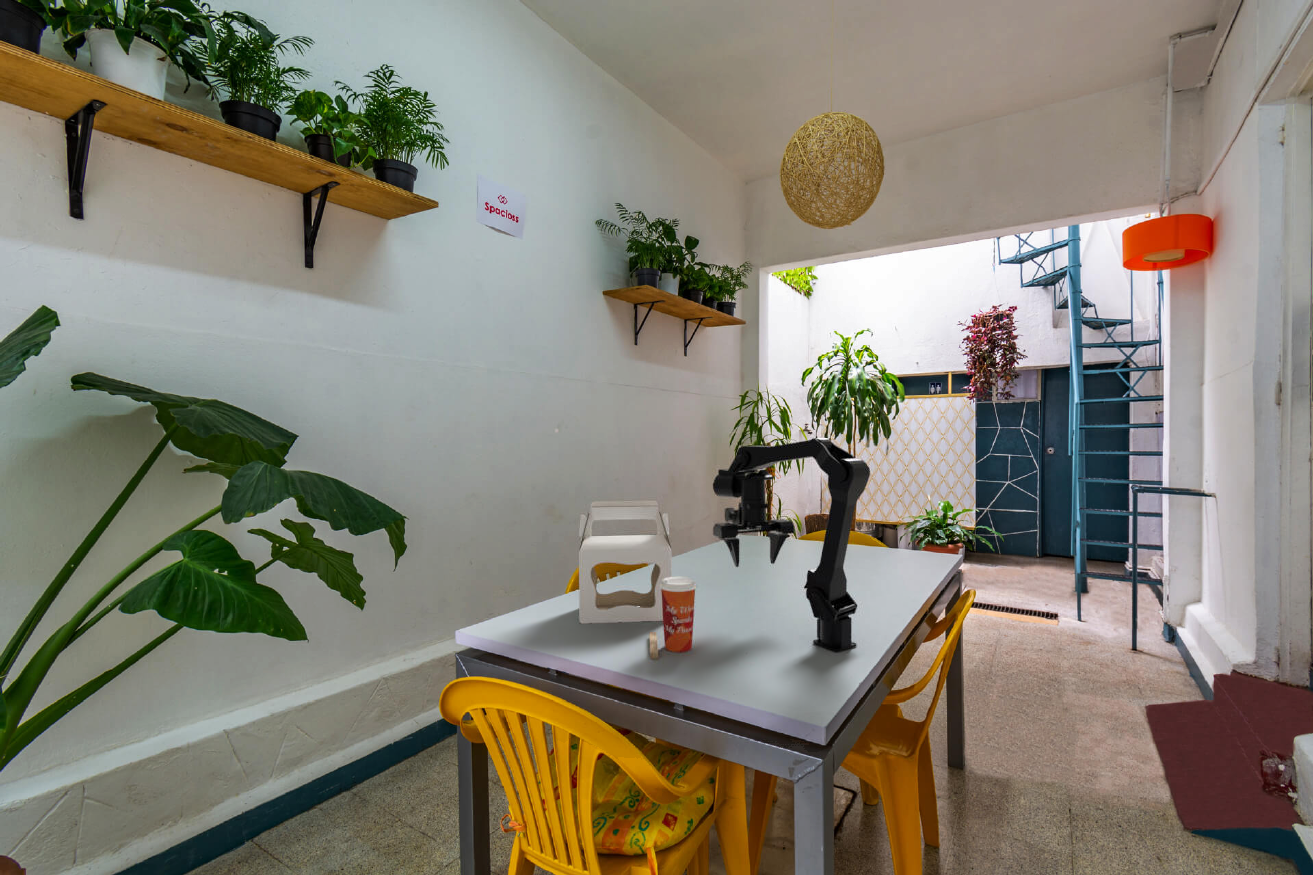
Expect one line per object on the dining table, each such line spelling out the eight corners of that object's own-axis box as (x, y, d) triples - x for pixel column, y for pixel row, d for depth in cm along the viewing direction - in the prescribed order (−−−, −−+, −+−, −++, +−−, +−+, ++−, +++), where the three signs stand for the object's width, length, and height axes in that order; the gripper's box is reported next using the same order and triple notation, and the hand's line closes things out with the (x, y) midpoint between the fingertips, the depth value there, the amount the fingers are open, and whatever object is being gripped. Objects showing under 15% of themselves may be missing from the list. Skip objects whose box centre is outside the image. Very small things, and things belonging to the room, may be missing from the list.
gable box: (578, 624, 140) (577, 504, 140) (580, 607, 153) (579, 498, 153) (672, 621, 142) (672, 503, 142) (666, 605, 155) (666, 497, 155)
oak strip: (649, 637, 131) (649, 632, 131) (656, 637, 131) (656, 632, 131) (650, 658, 119) (650, 652, 119) (657, 658, 119) (657, 652, 119)
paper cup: (665, 655, 120) (665, 586, 120) (655, 642, 128) (655, 577, 127) (702, 651, 122) (702, 583, 122) (690, 639, 130) (690, 574, 129)
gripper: (772, 494, 152) (774, 556, 152) (703, 497, 146) (705, 561, 146) (795, 497, 141) (796, 564, 141) (721, 502, 136) (723, 571, 136)
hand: (754, 565), depth 141 cm, fingers open, 9 cm apart
